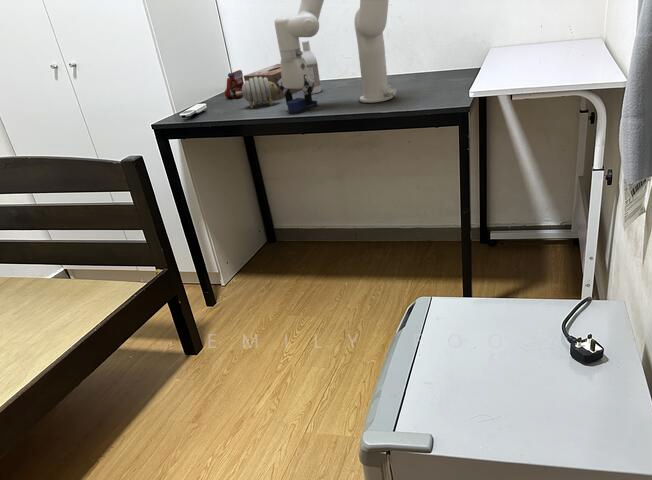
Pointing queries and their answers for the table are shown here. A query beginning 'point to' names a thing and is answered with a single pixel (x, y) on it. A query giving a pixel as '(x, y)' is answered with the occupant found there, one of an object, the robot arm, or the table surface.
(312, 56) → the bath foam
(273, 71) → the tissue box cover
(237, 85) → the toy fire truck
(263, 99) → the toy sheep
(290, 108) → the navy rounded-end tab
